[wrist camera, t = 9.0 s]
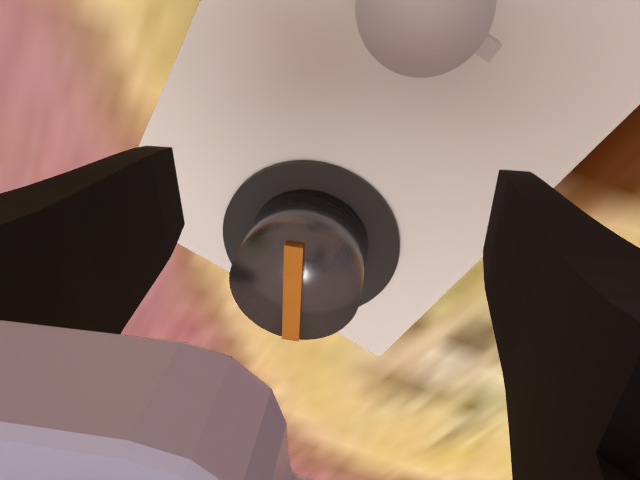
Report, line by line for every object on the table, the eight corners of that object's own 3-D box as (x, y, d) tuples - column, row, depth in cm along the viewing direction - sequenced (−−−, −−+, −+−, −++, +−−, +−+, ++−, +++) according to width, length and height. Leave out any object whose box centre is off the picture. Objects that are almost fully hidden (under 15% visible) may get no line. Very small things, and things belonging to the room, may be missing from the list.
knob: (362, 294, 25) (352, 355, 22) (253, 279, 25) (228, 335, 22) (374, 197, 22) (366, 250, 19) (251, 181, 23) (223, 230, 19)
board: (734, -1, 17) (800, 23, 14) (380, 348, 28) (375, 403, 25) (342, -321, 15) (322, -373, 12) (119, 200, 25) (79, 242, 22)
